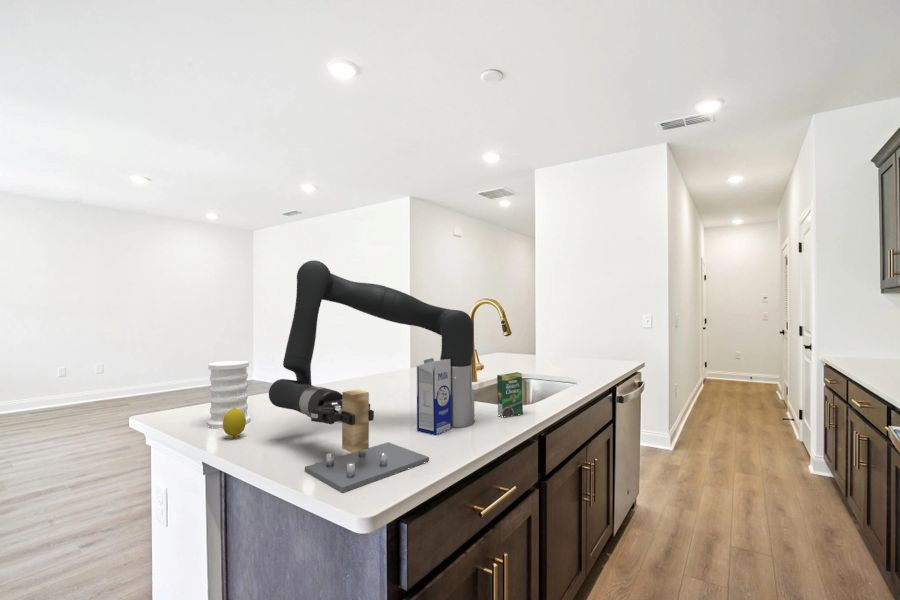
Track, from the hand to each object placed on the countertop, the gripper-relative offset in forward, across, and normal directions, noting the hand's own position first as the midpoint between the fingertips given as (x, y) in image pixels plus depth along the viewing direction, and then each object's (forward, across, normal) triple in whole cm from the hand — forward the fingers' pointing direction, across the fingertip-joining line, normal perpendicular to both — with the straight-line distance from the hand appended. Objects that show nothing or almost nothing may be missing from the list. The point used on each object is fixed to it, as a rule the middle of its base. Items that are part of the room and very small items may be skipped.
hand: (363, 417), depth 91 cm
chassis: (-3, +3, +12) cm, 12 cm away
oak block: (-3, 0, +7) cm, 8 cm away
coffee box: (-6, +58, +12) cm, 60 cm away
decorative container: (-62, -6, +12) cm, 63 cm away
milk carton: (-12, +31, +12) cm, 35 cm away
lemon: (-46, -10, +12) cm, 48 cm away
